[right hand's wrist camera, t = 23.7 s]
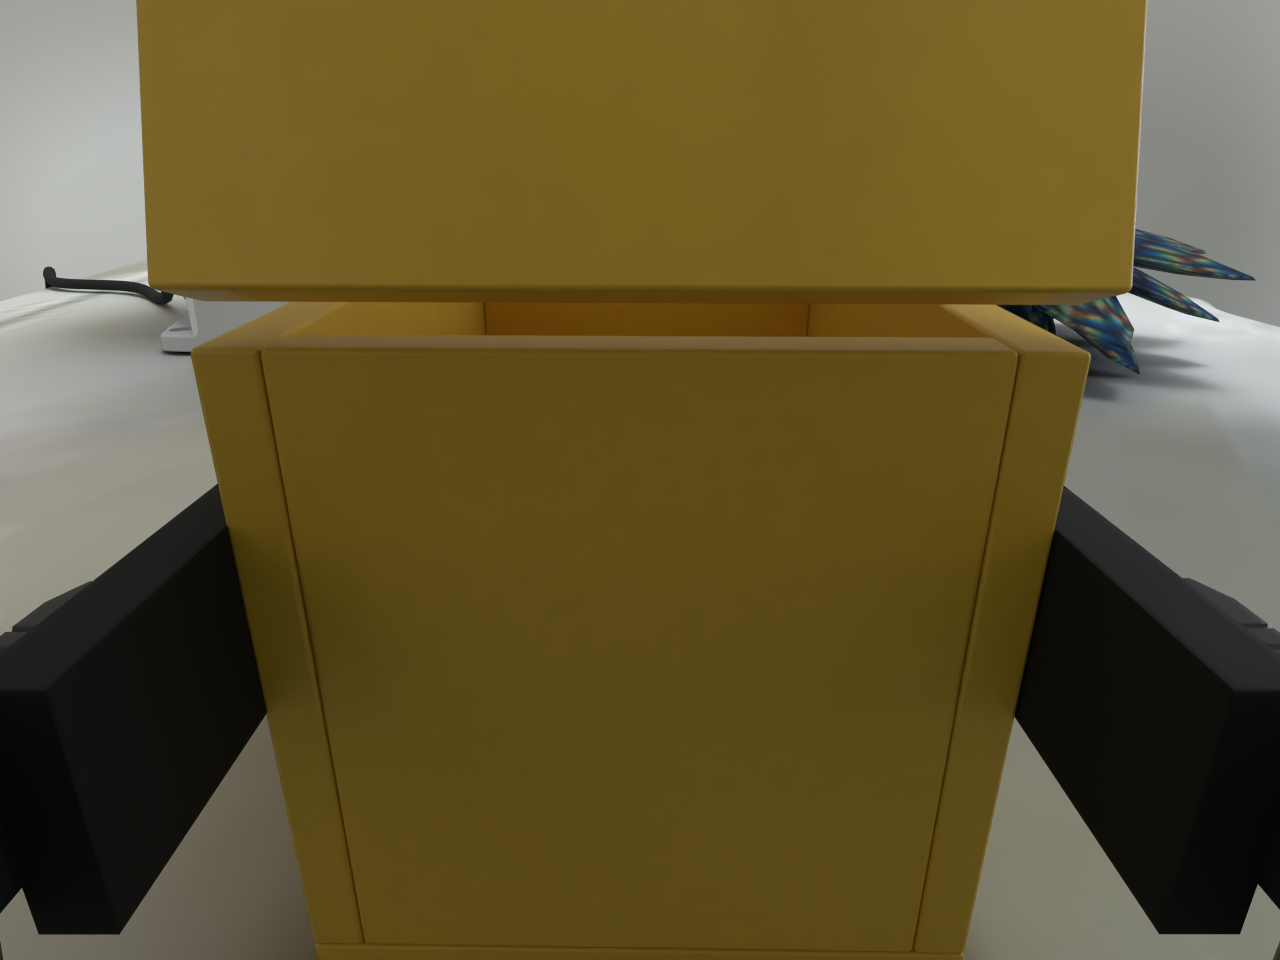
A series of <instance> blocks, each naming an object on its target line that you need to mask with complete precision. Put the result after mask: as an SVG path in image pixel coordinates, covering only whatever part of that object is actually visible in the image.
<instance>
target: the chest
mask: <svg viewBox="0 0 1280 960" xmlns="http://www.w3.org/2000/svg"><path fill="white" fill-rule="evenodd" d="M191 358H192V363H193V368H194V372H195V377H196V382H197V387H198V391H199V396H200V401H201V406H202V410H203V415H204V420H205V425H206V429H207V434H208V439H209V444H210V448H211V453H212V458H213V463H214V467H215V472H216V477H217V482H218V486H219V491H220V496H221V501H222V505H223V510H224V515H225V520H226V524H227V526H228V530H229V535H230V540H231V544H232V549H233V554H234V559H235V563H236V568H237V573H238V578H239V582H240V587H241V592H242V597H243V601H244V606H245V611H246V616H247V620H248V625H249V630H250V634H251V639H252V644H253V649H254V653H255V658H256V663H257V668H258V672H259V677H260V682H261V687H262V691H263V696H264V701H265V706H266V710H267V719H268V724H269V729H270V733H271V738H272V743H273V748H274V752H275V757H276V762H277V767H278V771H279V776H280V781H281V786H282V790H283V795H284V800H285V805H286V809H287V814H288V819H289V824H290V828H291V833H292V838H293V843H294V847H295V852H296V857H297V862H298V866H299V871H300V876H301V881H302V885H303V890H304V895H305V900H306V904H307V909H308V914H309V919H310V923H311V928H312V933H313V938H314V941H315V942H316V944H315V949H316V954H317V958H318V960H962V958H963V952H964V949H965V945H966V940H967V935H968V931H969V926H970V921H971V917H972V912H973V907H974V903H975V898H976V893H977V888H978V884H979V879H980V874H981V870H982V865H983V860H984V856H985V851H986V846H987V842H988V837H989V832H990V828H991V823H992V818H993V814H994V809H995V804H996V800H997V795H998V790H999V786H1000V781H1001V776H1002V772H1003V767H1004V762H1005V758H1006V753H1007V748H1008V744H1009V739H1010V734H1011V730H1012V725H1013V720H1014V716H1015V711H1016V706H1017V702H1018V697H1019V692H1020V688H1021V683H1022V678H1023V674H1024V669H1025V664H1026V660H1027V655H1028V650H1029V646H1030V641H1031V636H1032V632H1033V627H1034V622H1035V618H1036V613H1037V608H1038V604H1039V599H1040V594H1041V590H1042V585H1043V580H1044V576H1045V571H1046V566H1047V561H1048V557H1049V552H1050V547H1051V543H1052V538H1053V533H1054V529H1055V524H1056V519H1057V515H1058V510H1059V505H1060V501H1061V496H1062V491H1063V487H1064V482H1065V477H1066V473H1067V468H1068V463H1069V459H1070V454H1071V449H1072V445H1073V440H1074V435H1075V431H1076V426H1077V421H1078V417H1079V412H1080V407H1081V403H1082V398H1083V393H1084V389H1085V384H1086V379H1087V375H1088V370H1089V365H1090V361H1091V354H1090V353H1089V352H1087V351H1085V350H1083V349H1081V348H1079V347H1077V346H1075V345H1073V344H1071V343H1069V342H1067V341H1065V340H1063V339H1062V338H1060V337H1058V336H1056V335H1054V334H1052V333H1050V332H1048V331H1046V330H1044V329H1042V328H1040V327H1038V326H1036V325H1034V324H1032V323H1030V322H1028V321H1026V320H1024V319H1022V318H1020V317H1018V316H1016V315H1014V314H1012V313H1010V312H1008V311H1007V310H1005V309H1003V308H1001V307H999V306H997V305H958V304H713V303H468V302H290V303H288V304H286V305H284V306H282V307H280V308H277V309H275V310H273V311H271V312H269V313H267V314H265V315H263V316H260V317H258V318H256V319H254V320H252V321H250V322H248V323H246V324H243V325H241V326H239V327H237V328H235V329H233V330H231V331H229V332H227V333H224V334H222V335H220V336H218V337H216V338H214V339H212V340H210V341H207V342H205V343H203V344H201V345H199V346H197V347H195V348H193V349H192V350H191Z"/></svg>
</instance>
